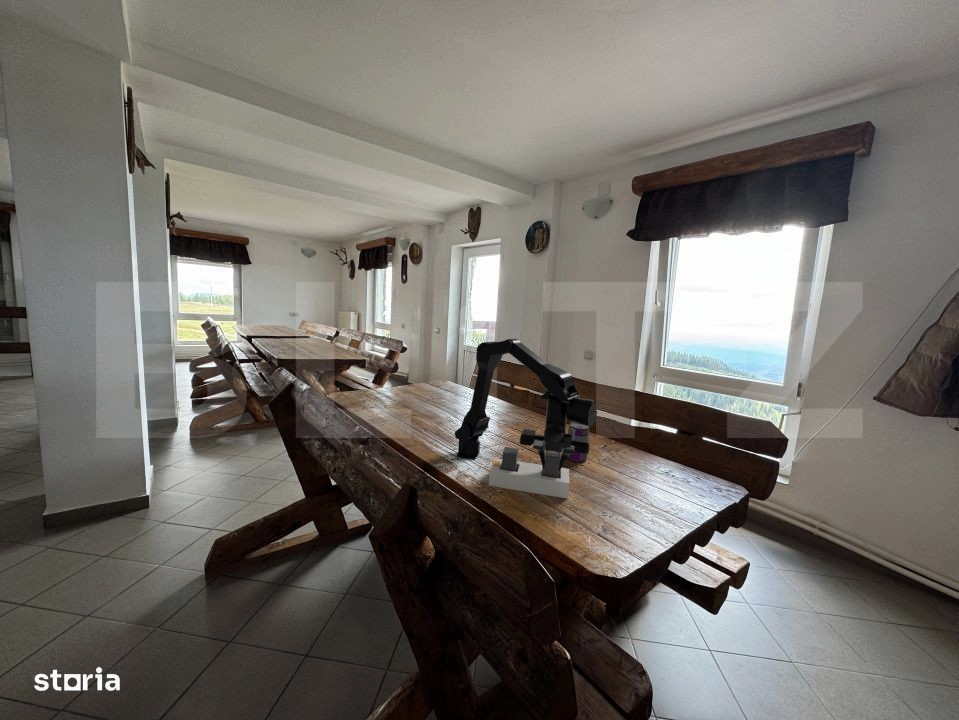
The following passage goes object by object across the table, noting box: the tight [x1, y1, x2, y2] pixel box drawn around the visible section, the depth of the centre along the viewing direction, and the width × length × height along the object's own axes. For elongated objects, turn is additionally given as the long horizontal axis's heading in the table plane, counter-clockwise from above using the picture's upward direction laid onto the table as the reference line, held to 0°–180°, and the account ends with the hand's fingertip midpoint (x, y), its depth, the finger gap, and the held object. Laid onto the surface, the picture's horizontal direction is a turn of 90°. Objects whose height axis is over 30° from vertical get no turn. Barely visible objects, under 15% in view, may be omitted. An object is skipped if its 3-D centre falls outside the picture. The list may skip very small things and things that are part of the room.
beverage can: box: [567, 422, 590, 463], centre depth 125 cm, size 7×7×12 cm
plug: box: [544, 450, 561, 478], centre depth 104 cm, size 4×4×9 cm
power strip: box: [488, 446, 570, 500], centre depth 105 cm, size 22×9×10 cm, turn 77°
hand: (551, 469), depth 104 cm, fingers closed on plug, 4 cm apart
